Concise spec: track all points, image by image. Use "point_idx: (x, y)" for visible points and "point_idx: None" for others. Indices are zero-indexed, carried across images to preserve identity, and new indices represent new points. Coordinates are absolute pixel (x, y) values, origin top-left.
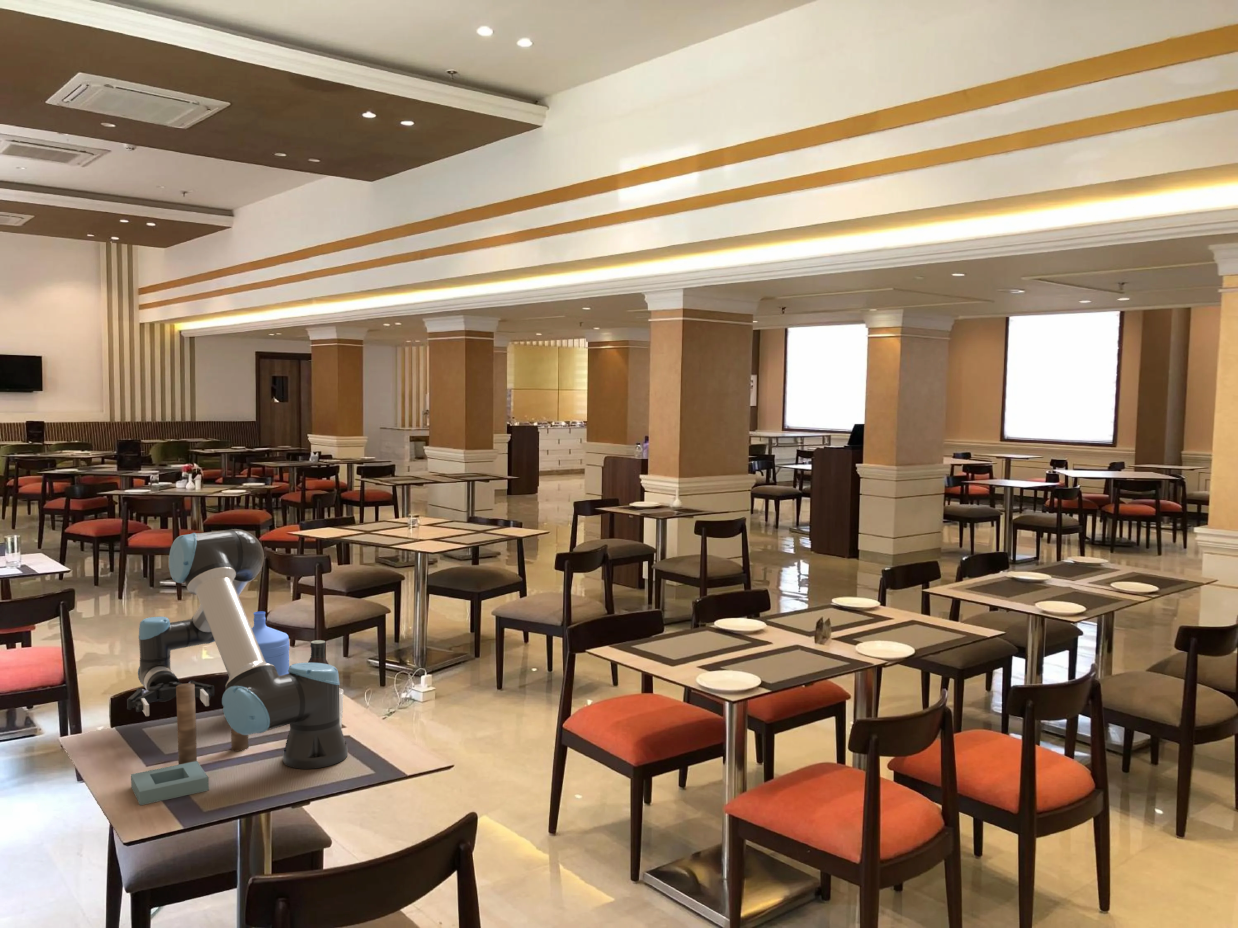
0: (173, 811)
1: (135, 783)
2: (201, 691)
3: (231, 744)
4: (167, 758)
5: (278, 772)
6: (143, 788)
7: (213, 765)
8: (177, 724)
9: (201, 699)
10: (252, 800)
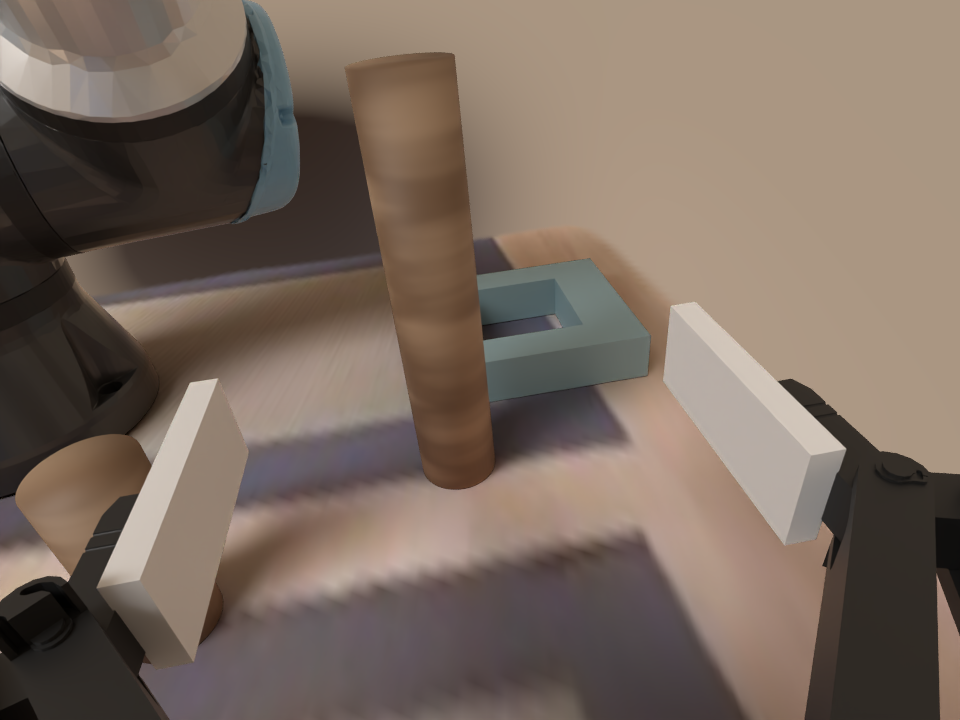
0: (506, 264)
1: (614, 290)
2: (172, 511)
3: (212, 591)
4: (553, 604)
5: (209, 362)
6: (583, 269)
7: (362, 457)
8: (476, 276)
9: (204, 588)
10: (340, 272)
